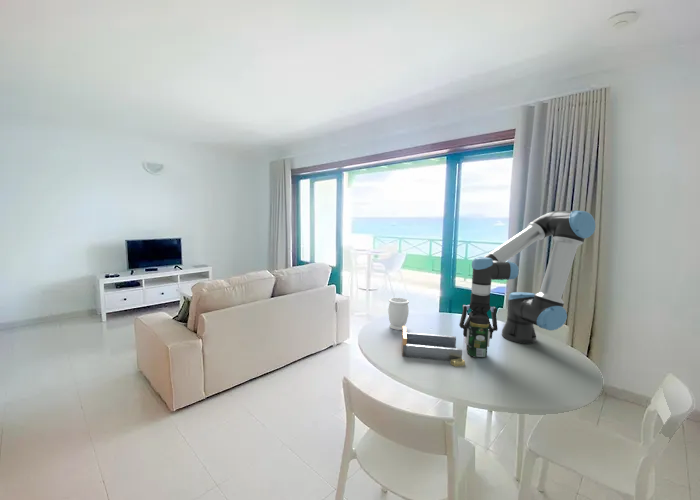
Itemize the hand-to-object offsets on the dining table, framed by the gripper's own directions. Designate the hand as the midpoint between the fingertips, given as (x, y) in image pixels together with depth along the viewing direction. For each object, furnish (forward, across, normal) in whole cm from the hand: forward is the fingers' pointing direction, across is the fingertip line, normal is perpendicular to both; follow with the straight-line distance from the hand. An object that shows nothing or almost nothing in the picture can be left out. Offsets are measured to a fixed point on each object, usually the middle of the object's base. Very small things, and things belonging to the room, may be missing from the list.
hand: (476, 344), depth 134 cm
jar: (+4, +34, -25) cm, 42 cm away
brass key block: (+5, +10, +12) cm, 16 cm away
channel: (+4, +20, +2) cm, 21 cm away
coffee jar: (+4, 0, 0) cm, 4 cm away
